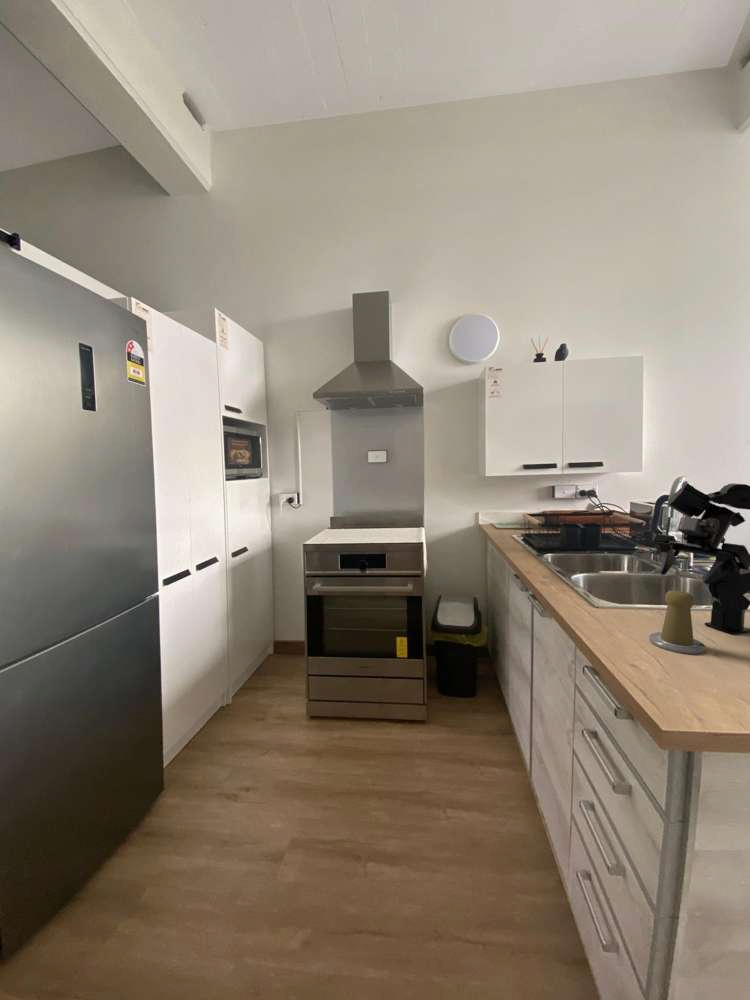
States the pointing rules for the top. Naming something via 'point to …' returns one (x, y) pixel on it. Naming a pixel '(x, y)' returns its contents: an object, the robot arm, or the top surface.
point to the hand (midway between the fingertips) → (682, 578)
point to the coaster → (694, 649)
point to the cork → (678, 618)
